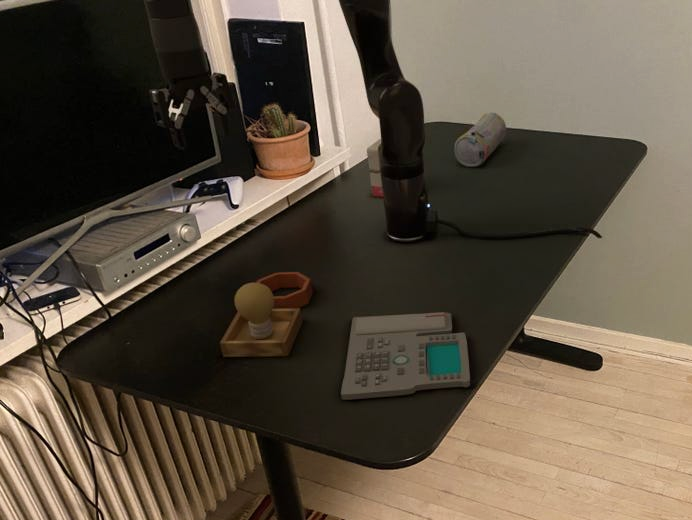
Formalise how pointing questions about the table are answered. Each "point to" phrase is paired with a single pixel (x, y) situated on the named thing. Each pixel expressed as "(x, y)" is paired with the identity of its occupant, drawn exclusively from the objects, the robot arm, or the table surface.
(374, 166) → the ink box
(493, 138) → the pencil case
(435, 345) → the office telephone
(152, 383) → the table surface
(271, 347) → the tray
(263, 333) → the light bulb
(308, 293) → the orange octagonal ring
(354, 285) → the table surface
